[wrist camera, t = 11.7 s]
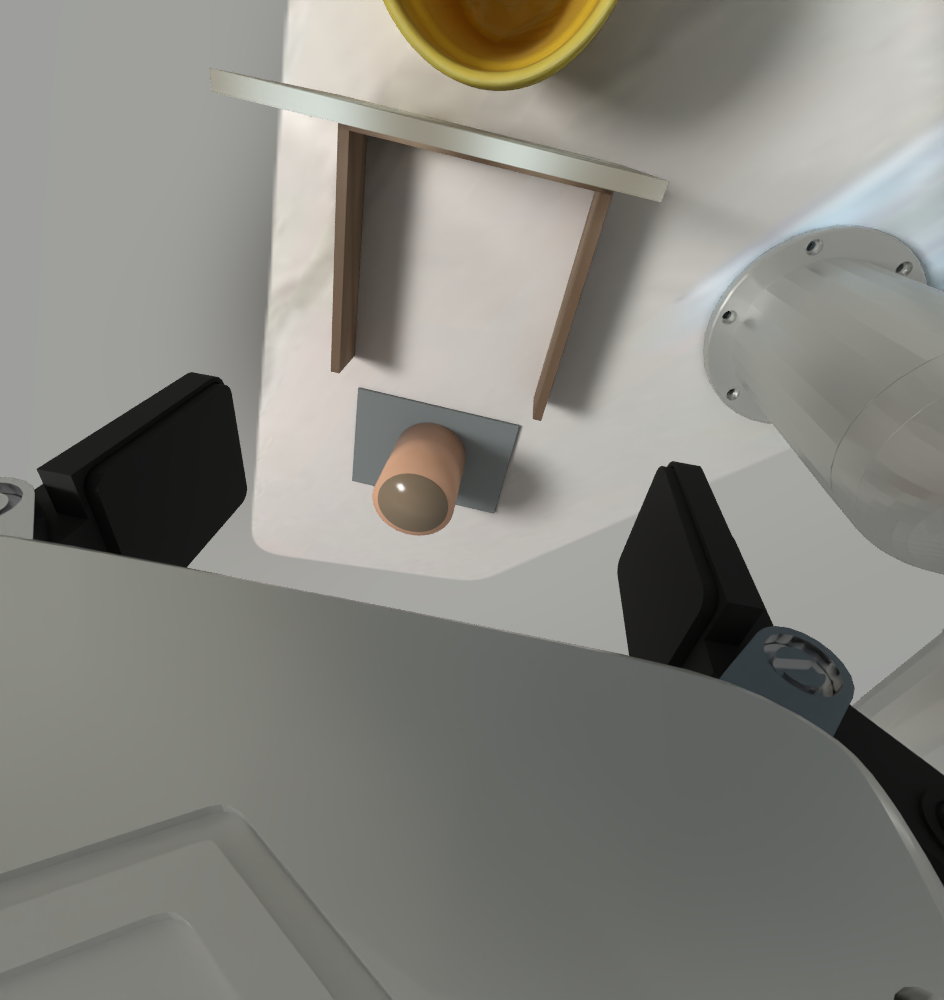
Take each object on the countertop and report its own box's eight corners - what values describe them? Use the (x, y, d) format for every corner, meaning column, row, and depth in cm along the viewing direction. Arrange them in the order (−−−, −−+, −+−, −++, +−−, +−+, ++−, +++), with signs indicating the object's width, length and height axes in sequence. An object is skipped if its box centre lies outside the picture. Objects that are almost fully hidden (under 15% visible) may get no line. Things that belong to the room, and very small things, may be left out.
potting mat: (519, 425, 40) (519, 426, 40) (494, 512, 45) (494, 513, 45) (359, 387, 40) (358, 388, 39) (352, 479, 45) (352, 480, 45)
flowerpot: (472, 432, 40) (460, 480, 35) (459, 491, 44) (446, 543, 38) (399, 415, 40) (375, 460, 35) (392, 475, 44) (369, 526, 38)
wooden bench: (614, 162, 29) (668, 181, 16) (541, 400, 38) (539, 532, 25) (359, 98, 29) (209, 67, 16) (346, 354, 38) (245, 464, 25)
